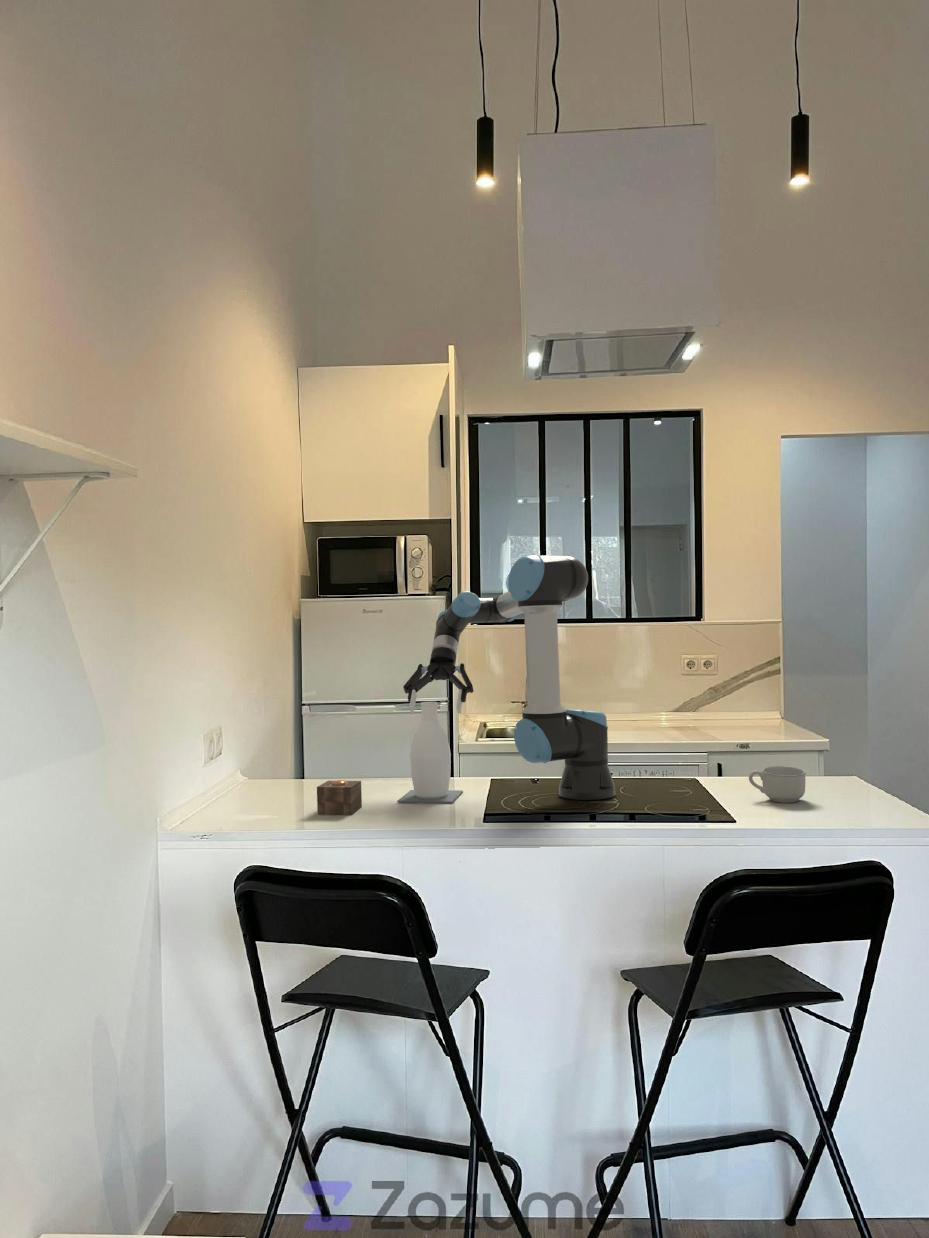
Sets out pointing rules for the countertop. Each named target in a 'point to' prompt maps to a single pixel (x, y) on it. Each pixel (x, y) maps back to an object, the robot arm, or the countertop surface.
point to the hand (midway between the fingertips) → (434, 710)
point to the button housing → (339, 798)
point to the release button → (339, 783)
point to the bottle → (430, 756)
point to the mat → (448, 799)
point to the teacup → (781, 783)
